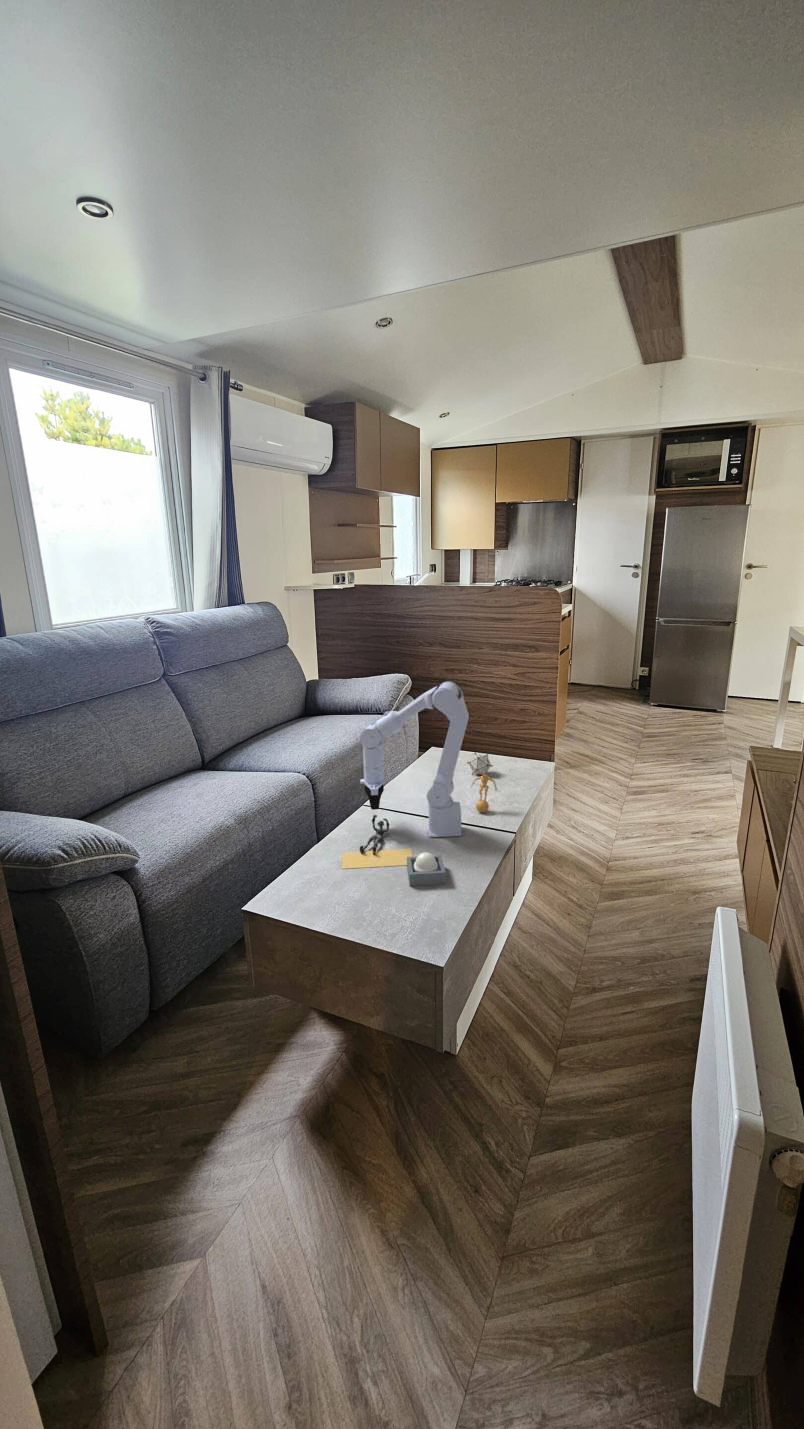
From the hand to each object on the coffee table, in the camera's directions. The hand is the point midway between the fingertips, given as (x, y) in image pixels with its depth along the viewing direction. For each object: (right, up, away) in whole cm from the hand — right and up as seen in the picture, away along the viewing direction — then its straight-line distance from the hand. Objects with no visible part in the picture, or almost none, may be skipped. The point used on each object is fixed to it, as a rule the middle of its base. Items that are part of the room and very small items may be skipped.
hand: (374, 808), depth 184 cm
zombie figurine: (+1, -8, -9) cm, 12 cm away
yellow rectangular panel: (+2, -11, -18) cm, 21 cm away
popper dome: (+14, -12, -28) cm, 34 cm away
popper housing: (+14, -13, -28) cm, 34 cm away
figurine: (+34, -2, +10) cm, 35 cm away
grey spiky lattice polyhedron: (+37, +6, +41) cm, 56 cm away
